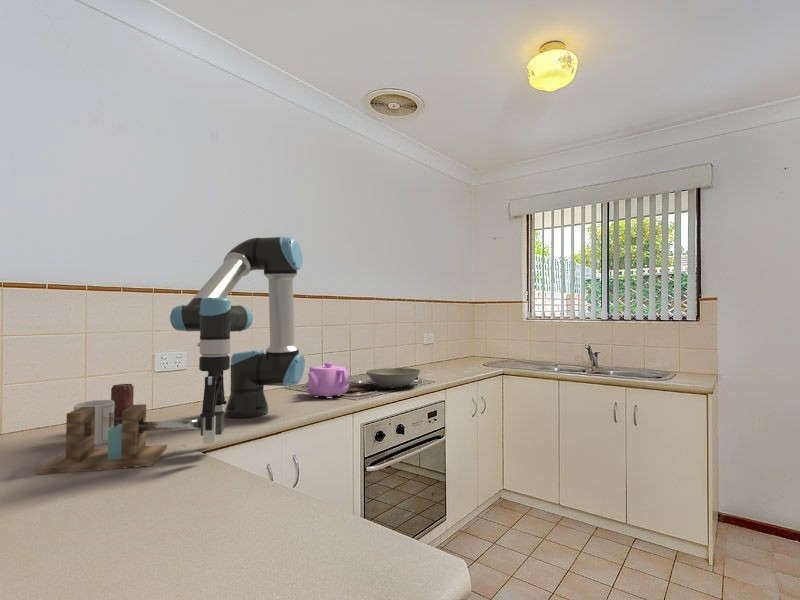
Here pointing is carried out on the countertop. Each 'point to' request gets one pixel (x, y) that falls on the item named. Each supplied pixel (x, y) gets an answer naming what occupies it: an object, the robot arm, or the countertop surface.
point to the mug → (101, 418)
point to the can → (121, 400)
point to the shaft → (183, 424)
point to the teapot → (328, 380)
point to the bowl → (393, 376)
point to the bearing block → (88, 458)
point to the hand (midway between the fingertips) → (213, 435)
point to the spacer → (115, 443)
